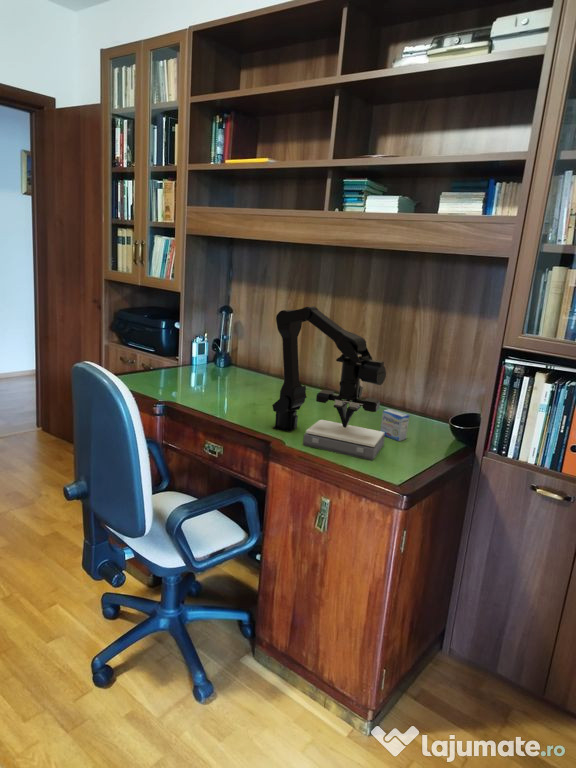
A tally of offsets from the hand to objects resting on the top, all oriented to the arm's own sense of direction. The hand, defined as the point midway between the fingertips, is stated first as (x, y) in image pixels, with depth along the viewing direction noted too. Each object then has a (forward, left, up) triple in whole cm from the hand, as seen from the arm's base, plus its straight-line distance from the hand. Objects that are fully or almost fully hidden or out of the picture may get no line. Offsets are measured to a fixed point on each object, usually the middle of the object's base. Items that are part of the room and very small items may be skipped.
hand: (345, 427), depth 163 cm
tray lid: (0, +2, -3) cm, 3 cm away
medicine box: (+12, +19, -7) cm, 24 cm away
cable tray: (0, +2, -6) cm, 7 cm away
